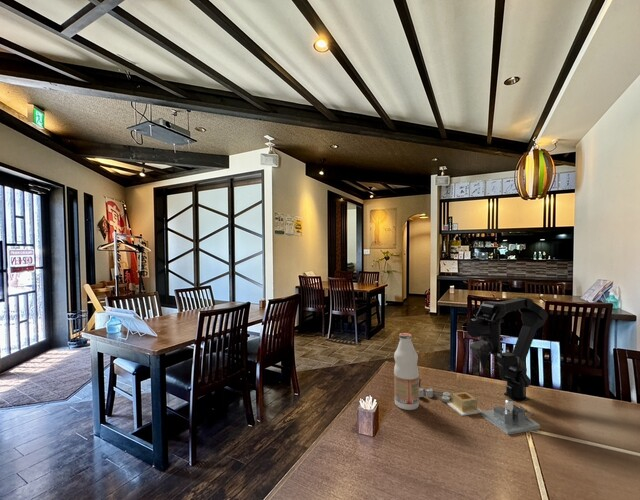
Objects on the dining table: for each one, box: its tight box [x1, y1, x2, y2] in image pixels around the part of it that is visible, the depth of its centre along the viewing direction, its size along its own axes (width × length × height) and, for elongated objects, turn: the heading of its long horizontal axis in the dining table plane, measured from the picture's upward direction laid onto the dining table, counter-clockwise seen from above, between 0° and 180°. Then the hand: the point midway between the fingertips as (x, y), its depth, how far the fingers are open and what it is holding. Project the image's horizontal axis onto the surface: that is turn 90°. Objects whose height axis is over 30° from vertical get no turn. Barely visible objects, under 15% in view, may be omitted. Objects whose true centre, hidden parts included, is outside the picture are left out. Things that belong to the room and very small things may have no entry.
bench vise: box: [480, 398, 541, 436], centre depth 109 cm, size 14×12×8 cm
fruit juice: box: [393, 332, 420, 411], centre depth 122 cm, size 9×9×28 cm
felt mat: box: [446, 401, 483, 417], centre depth 118 cm, size 9×9×1 cm
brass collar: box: [451, 391, 478, 412], centre depth 118 cm, size 6×6×4 cm
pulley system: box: [419, 386, 452, 403], centre depth 134 cm, size 27×5×15 cm
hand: (492, 373), depth 121 cm, fingers open, 9 cm apart
